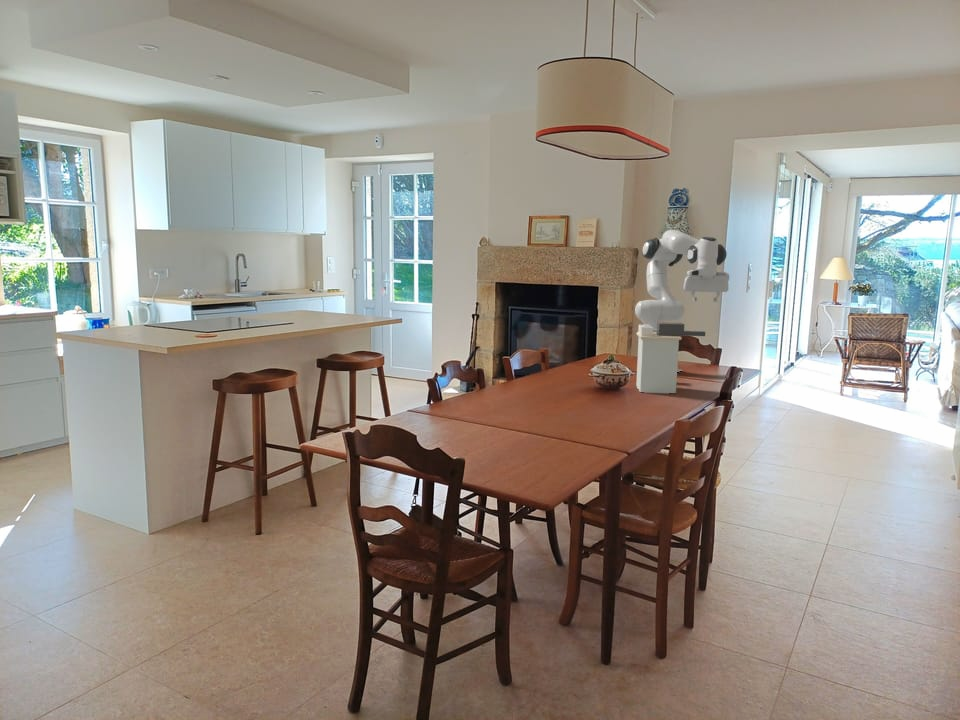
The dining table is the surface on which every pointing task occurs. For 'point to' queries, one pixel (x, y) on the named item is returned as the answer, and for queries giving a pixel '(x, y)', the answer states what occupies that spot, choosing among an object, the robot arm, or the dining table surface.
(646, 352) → the cabinet
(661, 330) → the dark grey stepped bar
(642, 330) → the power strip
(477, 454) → the dining table surface
